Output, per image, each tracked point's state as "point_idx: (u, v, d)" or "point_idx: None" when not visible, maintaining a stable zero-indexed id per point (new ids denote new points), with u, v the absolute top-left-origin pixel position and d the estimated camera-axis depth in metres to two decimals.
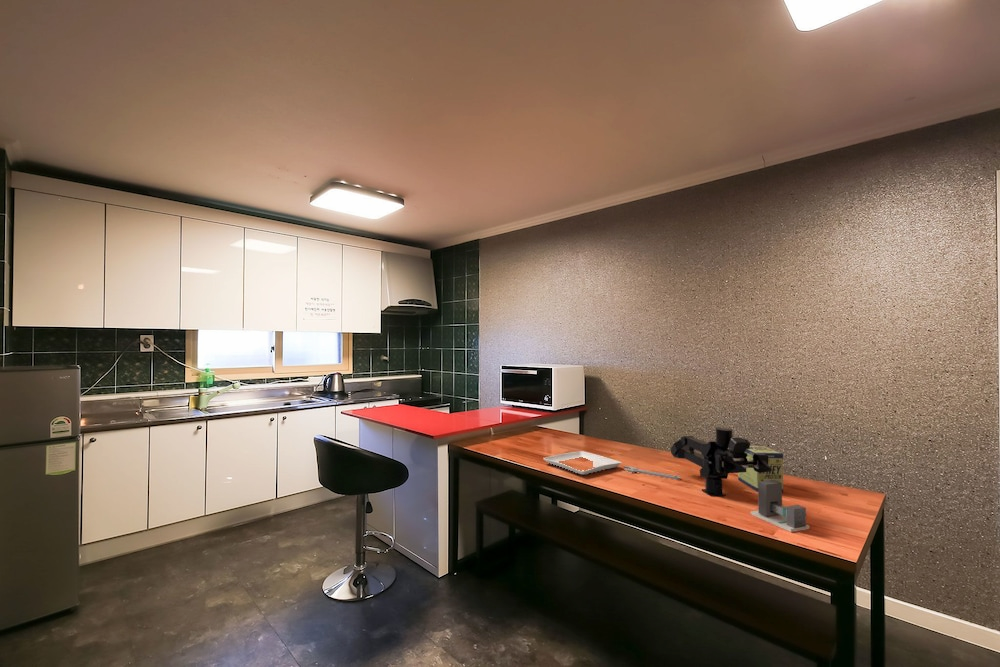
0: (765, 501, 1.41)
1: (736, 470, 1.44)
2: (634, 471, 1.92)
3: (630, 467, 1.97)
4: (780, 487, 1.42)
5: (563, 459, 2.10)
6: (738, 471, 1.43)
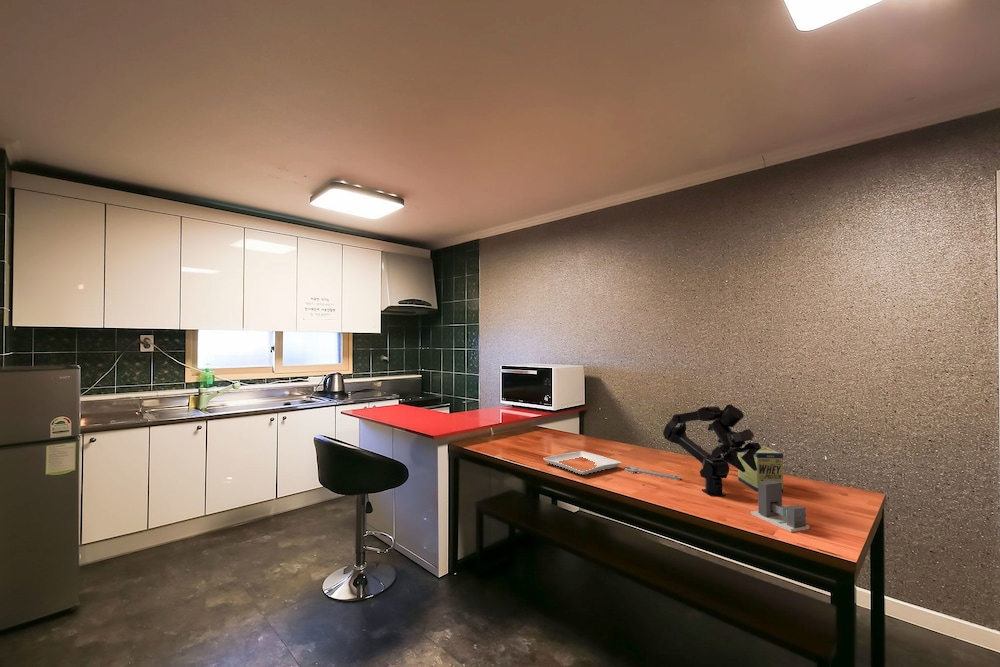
0: (765, 501, 1.41)
1: (735, 465, 1.52)
2: (635, 471, 1.92)
3: (631, 467, 1.97)
4: (780, 487, 1.42)
5: (563, 459, 2.10)
6: (736, 467, 1.52)
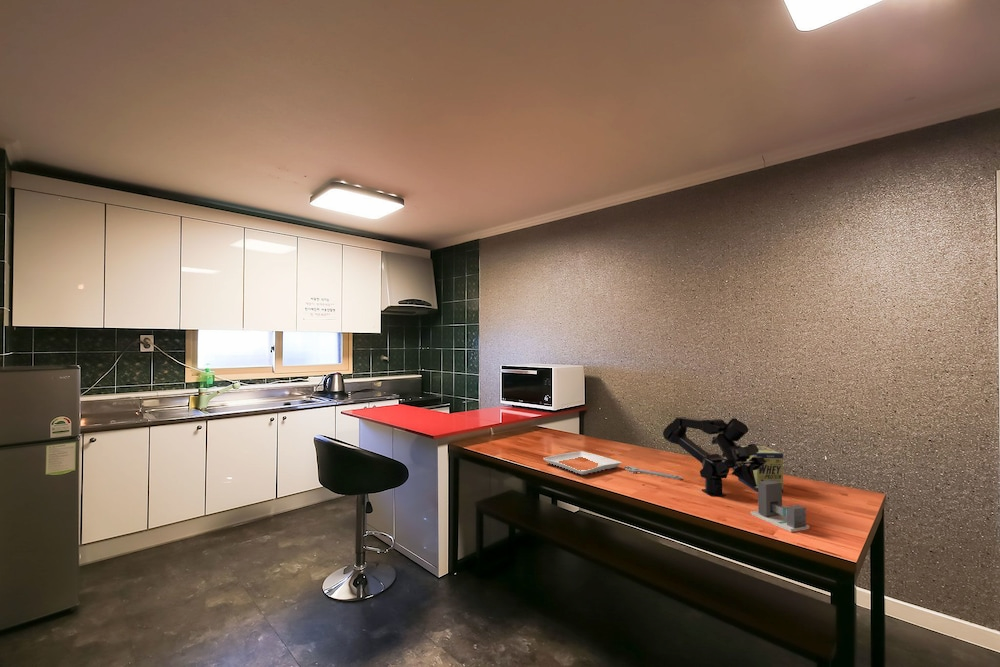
0: (765, 501, 1.41)
1: (745, 480, 1.51)
2: (635, 471, 1.92)
3: (631, 467, 1.97)
4: (780, 487, 1.42)
5: (563, 459, 2.10)
6: (746, 481, 1.51)
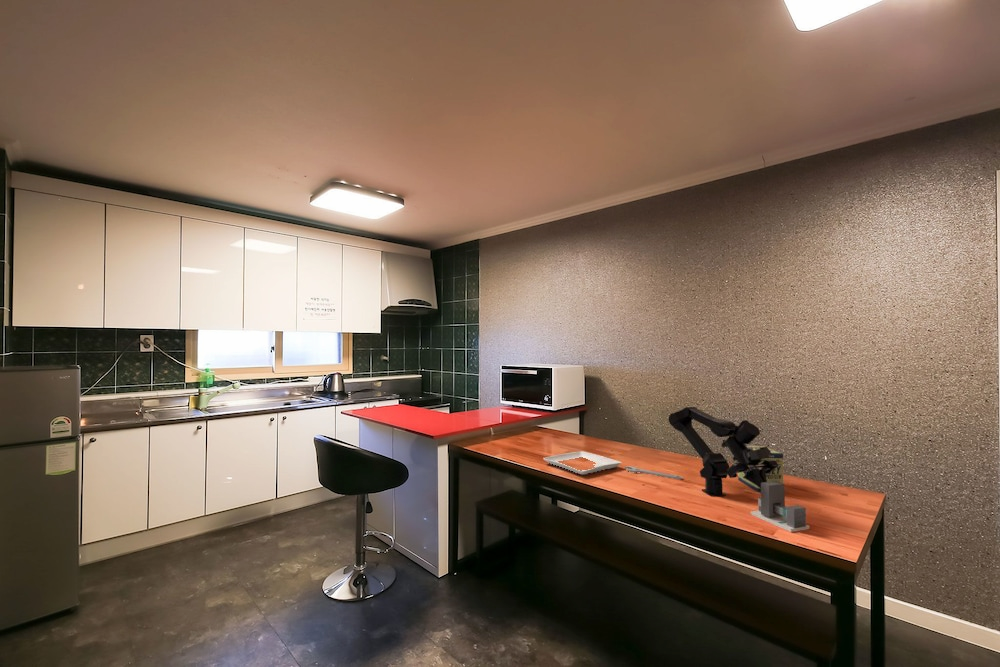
0: (768, 502, 1.40)
1: (757, 484, 1.46)
2: (636, 471, 1.92)
3: (632, 467, 1.97)
4: (783, 488, 1.41)
5: (563, 459, 2.10)
6: (758, 486, 1.46)
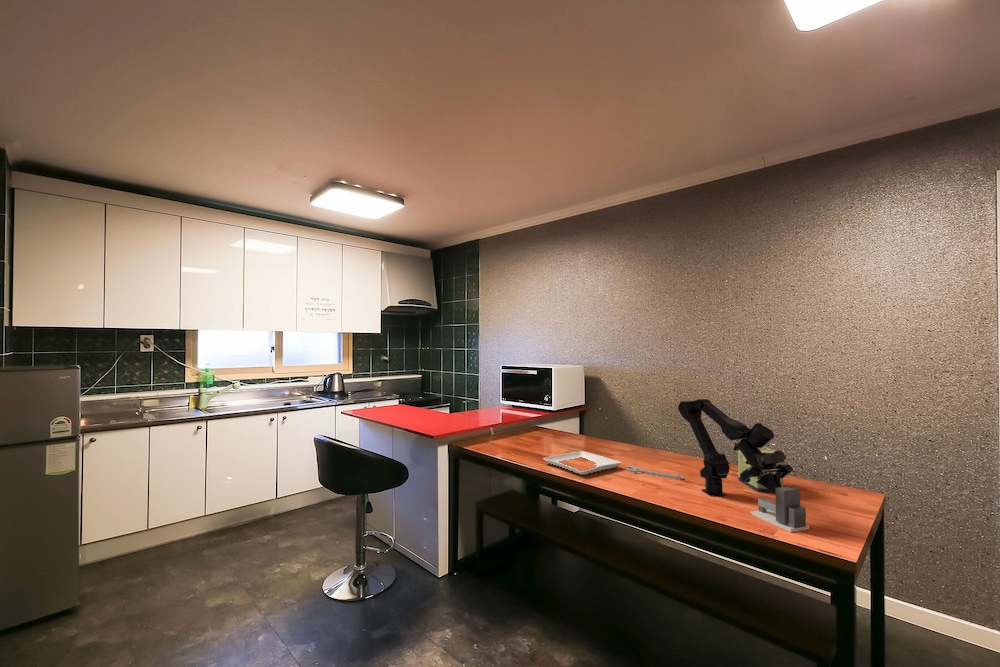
0: (783, 508, 1.35)
1: (771, 489, 1.41)
2: (637, 471, 1.92)
3: (632, 467, 1.97)
4: (798, 493, 1.36)
5: (563, 459, 2.10)
6: (773, 491, 1.41)
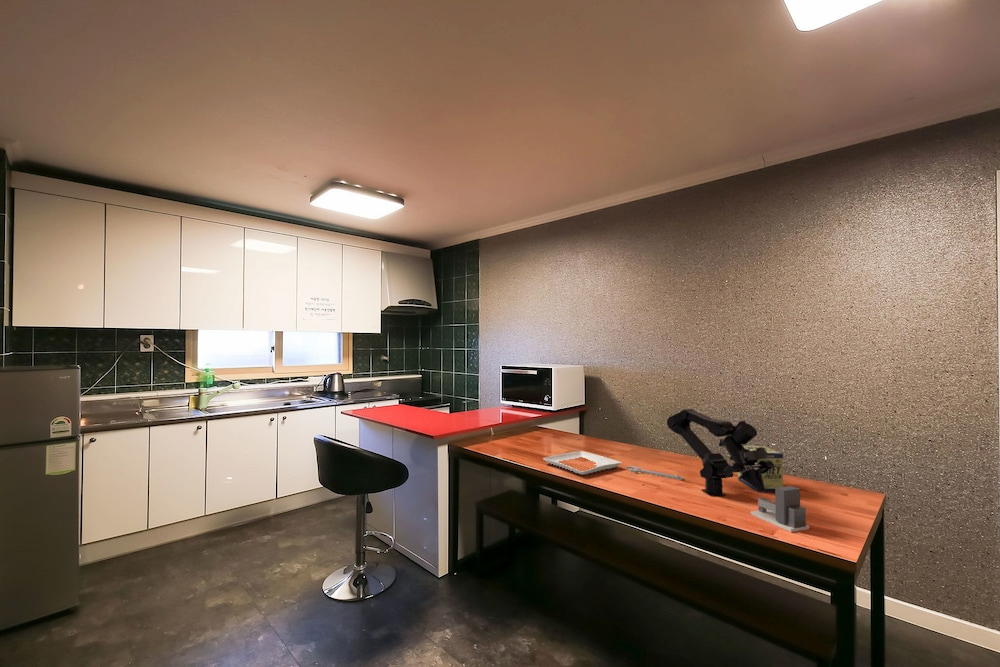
0: (783, 508, 1.35)
1: (753, 484, 1.48)
2: (637, 471, 1.92)
3: (633, 467, 1.97)
4: (798, 493, 1.36)
5: (563, 459, 2.10)
6: (754, 486, 1.47)
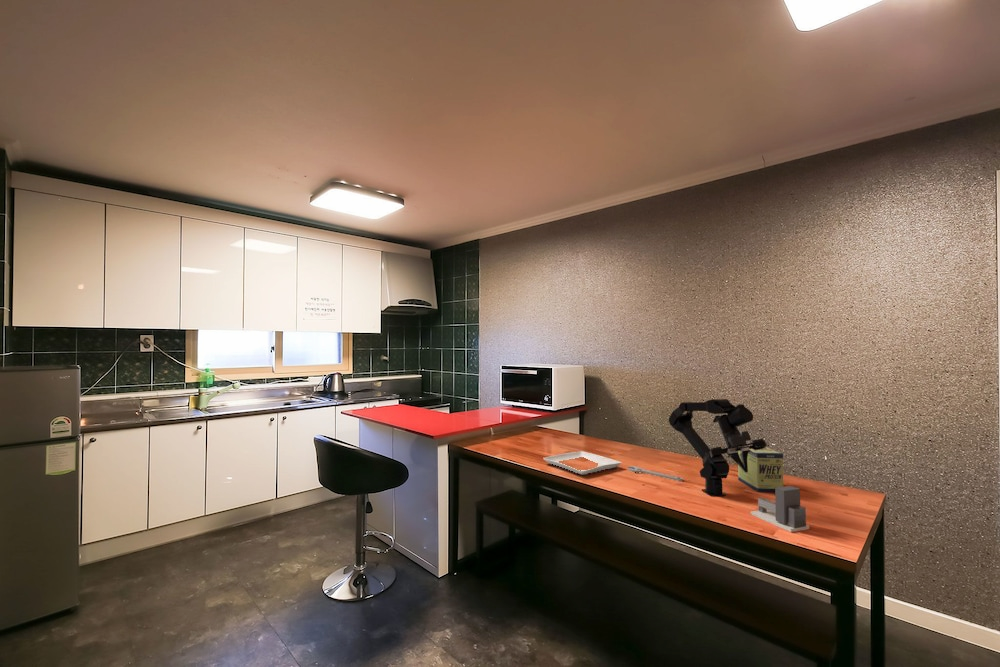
0: (783, 508, 1.35)
1: (738, 464, 1.54)
2: (638, 471, 1.92)
3: (635, 467, 1.97)
4: (798, 493, 1.36)
5: (563, 459, 2.10)
6: (740, 466, 1.54)
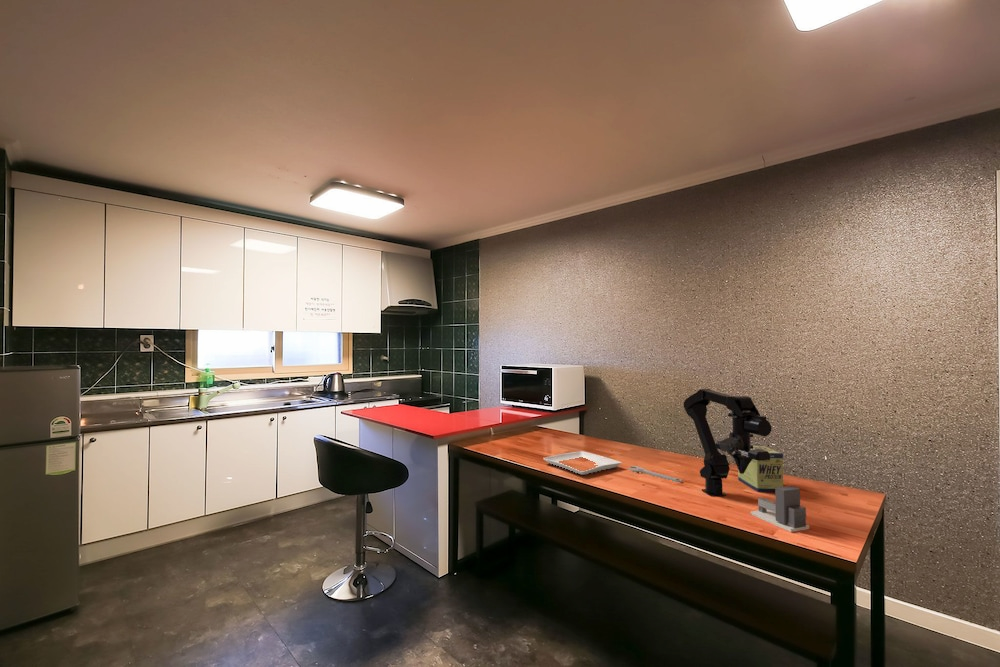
0: (783, 508, 1.35)
1: None
2: (638, 471, 1.92)
3: (637, 467, 1.97)
4: (798, 493, 1.36)
5: (563, 459, 2.10)
6: None
